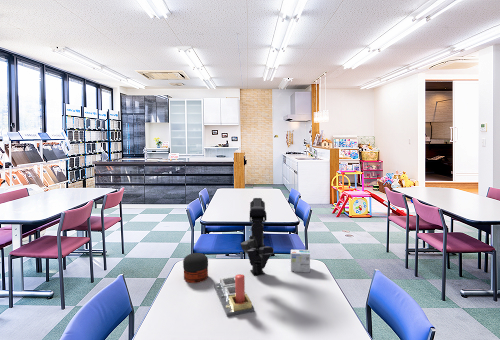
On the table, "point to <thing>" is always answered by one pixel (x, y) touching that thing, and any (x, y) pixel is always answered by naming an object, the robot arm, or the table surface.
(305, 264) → the light bulb box
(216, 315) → the table surface
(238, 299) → the plug
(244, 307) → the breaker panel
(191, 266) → the oil filter
